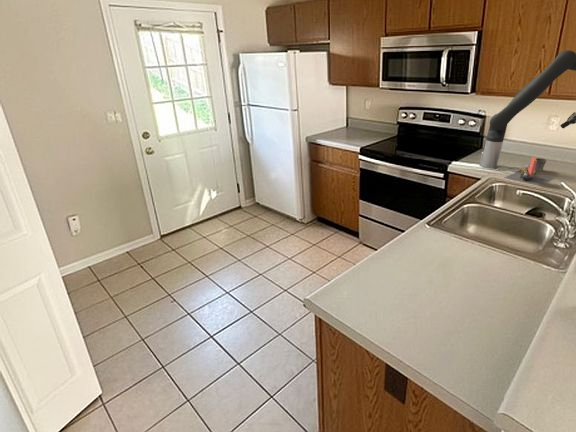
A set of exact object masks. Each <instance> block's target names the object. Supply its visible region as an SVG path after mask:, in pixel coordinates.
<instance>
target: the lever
mask: <svg viewBox="0 0 576 432" xmlns="http://www.w3.org/2000/svg"><path fill="white" fill-rule="evenodd" d="M536 163H537V160H536V157H535V156H532V157H531V160H530V163H529V164H525V166H524V168H525V169H528V171H529V174H530V175H532V176H533V174H534V170H535V166H536Z"/></svg>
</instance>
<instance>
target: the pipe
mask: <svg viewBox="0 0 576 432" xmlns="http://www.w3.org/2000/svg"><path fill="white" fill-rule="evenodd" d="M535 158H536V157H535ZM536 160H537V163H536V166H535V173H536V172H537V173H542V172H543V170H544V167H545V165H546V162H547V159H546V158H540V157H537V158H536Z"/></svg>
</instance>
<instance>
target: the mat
mask: <svg viewBox="0 0 576 432" xmlns="http://www.w3.org/2000/svg"><path fill="white" fill-rule="evenodd" d="M520 174H521V171H520V170H518V171H516V172H514V173H512V174H510V175H507V176H505V177H503V179H508V180H512V181H516V182H521V183H523V184H524V183H525V184H529V185H534V186H538V187H542V186H544V185H546V184H547V183H549V182H551V181H553V180H554V179H555V177H550V176H545V175H541V174H534V178H533V180H530V181H524V180H523V178H520Z"/></svg>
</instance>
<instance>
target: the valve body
mask: <svg viewBox="0 0 576 432" xmlns="http://www.w3.org/2000/svg"><path fill="white" fill-rule="evenodd" d="M535 173H536V171H535V170H534V174H535ZM534 174H533V176H532V175H530V174H529V171H528V169H525V167H521V174H520V178H523V180H524V181H530V180H533V178H534Z"/></svg>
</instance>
